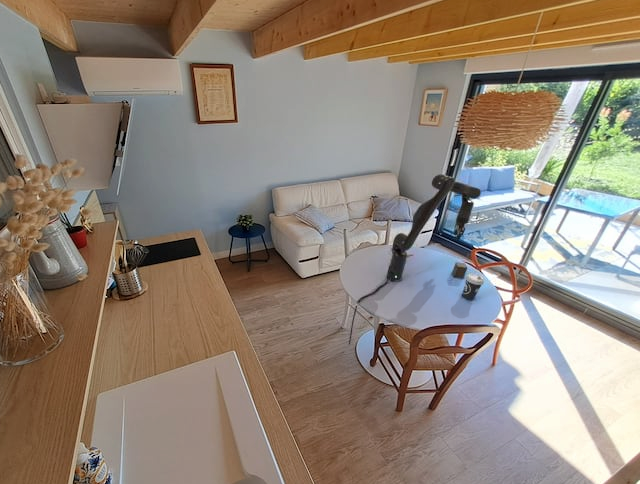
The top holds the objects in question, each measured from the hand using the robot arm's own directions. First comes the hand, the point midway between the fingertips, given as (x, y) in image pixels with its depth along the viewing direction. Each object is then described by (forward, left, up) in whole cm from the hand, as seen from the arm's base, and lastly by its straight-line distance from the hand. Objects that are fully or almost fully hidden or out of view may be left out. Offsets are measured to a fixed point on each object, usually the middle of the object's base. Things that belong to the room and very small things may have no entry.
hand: (456, 237), depth 204 cm
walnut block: (-8, -14, -23) cm, 28 cm away
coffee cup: (-24, -33, -23) cm, 47 cm away
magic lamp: (-30, +19, -23) cm, 42 cm away
